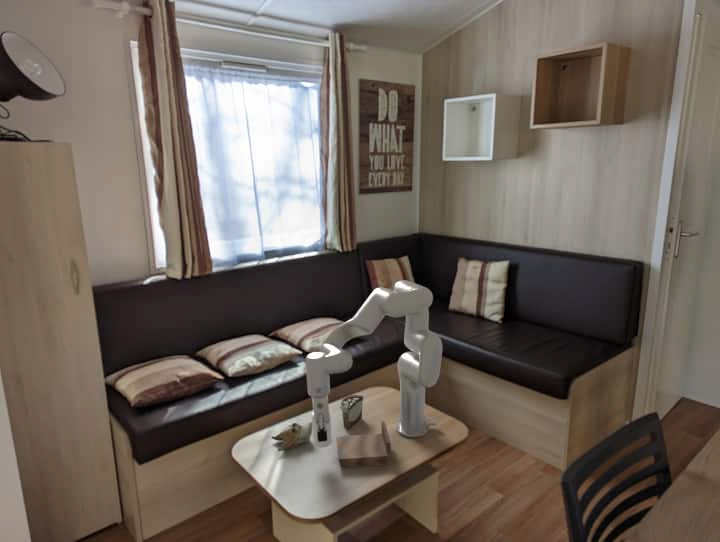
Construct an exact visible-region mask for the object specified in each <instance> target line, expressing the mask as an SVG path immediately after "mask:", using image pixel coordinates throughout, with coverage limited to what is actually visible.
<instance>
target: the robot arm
mask: <svg viewBox="0 0 720 542" xmlns="http://www.w3.org/2000/svg"><path fill="white" fill-rule="evenodd" d="M433 300H434V296H433V293H432V291H431V290H430V289H429V288H428V287H425V286H423V285H420V284H417V283H415V282H414V281H410V280H406V279H402V280H398V281H397V282H396V283H395V284H394V286H393V290H392V289H391V288H387V287H380V286H379V287H376V288H375V289H374V290H373V291H372V292H371V294H370V295H369V296H368V297H367V298H366V300H365V301H364V302H363V304H362V305H361V306H360V308H358V310H357V311H356V313H355V314H354V315H353V317H352V318H350V319H349V320H347V321H345V322H343V323H342V324H340V325H339V326H336V328H334V329H333V330H332V331H331V332H330V333H329V334H328V335H327V337H326V338H325V340H324V341H323V342H322V343H321V345H320V347H319V349H318V351H313V352H310V353H309V354H308V355H306V357H305V371H306V383H307V384H306V385H307V386H306V387H307V394H308V395H309V397H311V400H312V409H313V411H312V412H314V418H315V423H316V424H317V426H318V431H317V435H318V442H321V441H327V430H326V425H325V422H326V423H329V413H330V409H329V407H330V406H329V405H330V404H329V396H328V395H330V393H331V384H330V382H331V381H330V375H332V374H341V373H344V372H347V371H349V370H350V369H351V368H352V366H353V361H354V360H353V357H352V355H351V354H350V353H349V352H347V350H345V349H343V346H344V345H345V344H346V343H348V341H350V340H351V339H353V338H355V337H361V336H369V335H371V334H372V333H373V332H374V331H375V329H376V328H377V327H378V326H379V325H380V323H381V322H382V320H383V319H384V318H385V316H389V317H391V318H399V317H400V318H401V317H405V327H404V336H403V337H404V338H403V343H404V346H405V347H406V348H407V349H409V350H410V351H406V352H404V353H402V354H401V355H400V356H399V358H398V361H397V372H398V375H399V386H400V388H399V421H397V423H396V426H395V430H396V432H397V433H398V434H399V435H401V436H403V437H405V438H411V439H412V438H413V439H414V438H421V437H424V436H425V435H427V434H428V432H429V426H437V425H438V424H437V423H438V421H437V419H433V418H432V417H425V415H426V414H425V413H426V412H425V410H426V409H425V406H426V398H425V397H426V388H431V387H433V386H434V385H435V384H436V383H437V381H438V380H439V377H440V373H441V367H442V366H441V365H442V359H443V358H442V355H443V343H442V342H443V341H442V339H441V337H440V336H439V335H438V334H436V333H435V332H433V331H431V330H430V329H429V328H430V327H429V322H430V321H429V319H430V312H429V308H430V306H431V305H432V303H433ZM322 414H323V415H322ZM318 420H319V422H318ZM323 420H324V422H323ZM323 424H324V427H323ZM319 425H320V427H319Z"/></svg>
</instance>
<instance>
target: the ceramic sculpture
mask: <svg viewBox="0 0 720 542" xmlns="http://www.w3.org/2000/svg"><path fill="white" fill-rule="evenodd" d="M312 435H313V429H312V421H309V422H305V423H303V424H299V423H297V422H294V423H292V425H288V426H285V427H284V429H283V430H282V431H281V432H280V433H278V434H277V435H276V436H271V439H272V440H275V441H278V442H280V441H282V442H283V443H282V444H281V445H280V447H279V448H278V449H277V451H279V452H285V451H289V450H291V449H292V448H294V446H297V445H298V444H302V443H306V444H307V443H310V442H311V436H312Z"/></svg>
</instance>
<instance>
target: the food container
mask: <svg viewBox="0 0 720 542" xmlns="http://www.w3.org/2000/svg"><path fill="white" fill-rule="evenodd" d="M363 401H364V397H363V395H360V394H353V395H349V396H345V397H343V398H342V400H341V402H340V405H339V409H340V411H342V412H341V414H342V423H343V427H344V428H345V429H346V430H348V431H351V430H352V429H353V428H354V427H355V426H357V424H358V423H360V422H361V421H362V419H363V404H364V403H363Z"/></svg>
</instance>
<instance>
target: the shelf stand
mask: <svg viewBox="0 0 720 542" xmlns="http://www.w3.org/2000/svg"><path fill="white" fill-rule="evenodd" d="M380 424H381V433H373V434H371V433H370V434H358V435H357V434H356V435H354V434H353V435H343V436H341V435H339V436H336V448H337V456H338V458H337V459H338V463H339V468H340V469H343V468H354V467H355V468H356V467H365V466H367V467H368V466H370V467H371V466H380V465H381V466H382V465H383V466H384V465H387V460H391V459H392V456H391V454H392V453H391V452H392V451H391V450H392V449H391V448H392V447H391V443H392V442H391V439H390V436H389V433H388V428H387V425H386V421H384V420H383V421H381V423H380Z"/></svg>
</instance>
